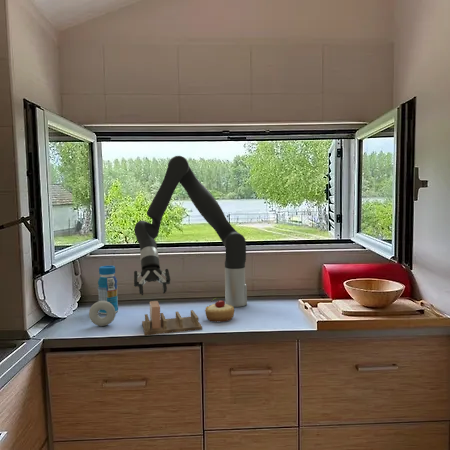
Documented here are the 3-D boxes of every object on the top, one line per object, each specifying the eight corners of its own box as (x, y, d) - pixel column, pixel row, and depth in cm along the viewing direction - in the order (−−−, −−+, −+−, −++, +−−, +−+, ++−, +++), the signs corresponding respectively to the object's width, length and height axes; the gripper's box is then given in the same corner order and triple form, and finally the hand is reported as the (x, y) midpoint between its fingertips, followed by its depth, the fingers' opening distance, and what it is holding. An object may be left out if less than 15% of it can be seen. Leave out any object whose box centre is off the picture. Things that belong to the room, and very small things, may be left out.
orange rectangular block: (158, 321, 161) (157, 300, 160) (160, 327, 152) (159, 306, 152) (150, 321, 160) (149, 301, 160) (152, 328, 151) (151, 307, 151)
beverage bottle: (95, 314, 175) (94, 268, 174) (102, 309, 184) (100, 265, 183) (115, 314, 175) (113, 268, 174) (121, 309, 184) (119, 265, 182)
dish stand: (194, 319, 167) (194, 308, 166) (202, 329, 153) (201, 318, 153) (142, 324, 161) (141, 313, 161) (144, 335, 148) (144, 324, 147)
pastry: (237, 322, 161) (237, 300, 161) (207, 325, 159) (207, 302, 158) (231, 314, 173) (230, 293, 172) (203, 316, 171) (202, 295, 170)
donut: (88, 328, 157) (87, 302, 157) (90, 325, 161) (89, 300, 160) (115, 326, 159) (114, 301, 158) (116, 323, 162) (115, 298, 162)
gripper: (132, 255, 167) (135, 289, 156) (167, 253, 170) (172, 286, 160) (132, 266, 172) (134, 299, 162) (166, 264, 176) (170, 296, 166)
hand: (153, 293), depth 161 cm, fingers open, 8 cm apart
